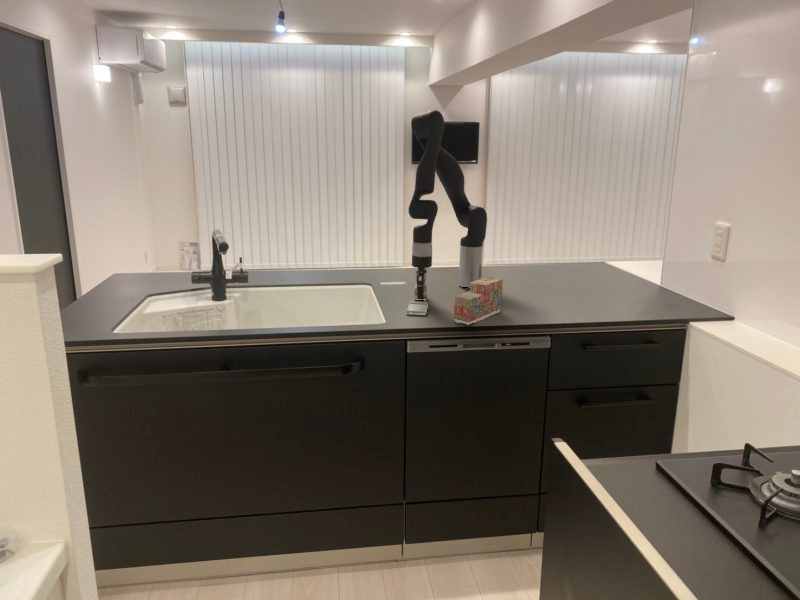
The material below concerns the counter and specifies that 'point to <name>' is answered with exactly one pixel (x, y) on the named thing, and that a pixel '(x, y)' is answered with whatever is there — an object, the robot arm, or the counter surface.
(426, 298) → the maple block
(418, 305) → the ceramic dish
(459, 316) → the stack of blocks
